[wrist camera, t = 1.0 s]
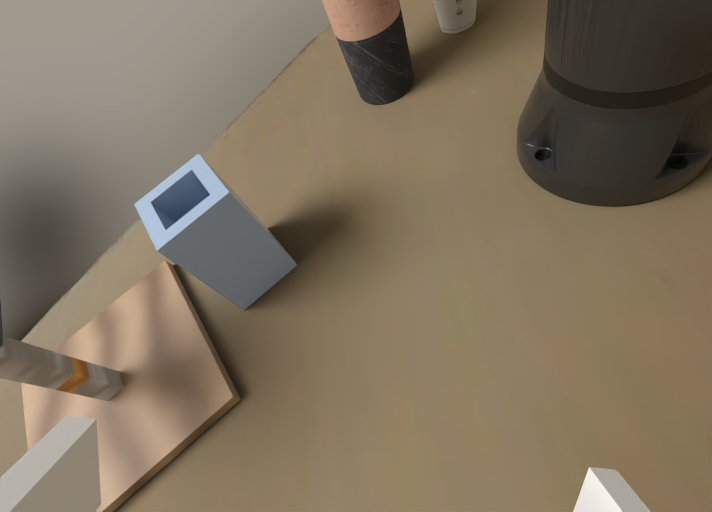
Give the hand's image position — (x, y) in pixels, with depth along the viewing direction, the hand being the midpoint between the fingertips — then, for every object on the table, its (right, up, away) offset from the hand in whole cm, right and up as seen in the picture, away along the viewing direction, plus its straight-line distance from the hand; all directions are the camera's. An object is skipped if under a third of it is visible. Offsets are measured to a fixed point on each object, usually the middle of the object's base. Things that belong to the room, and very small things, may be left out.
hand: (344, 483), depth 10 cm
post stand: (-23, -7, +29) cm, 38 cm away
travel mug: (+4, +28, +39) cm, 48 cm away
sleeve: (-10, +5, +31) cm, 33 cm away
